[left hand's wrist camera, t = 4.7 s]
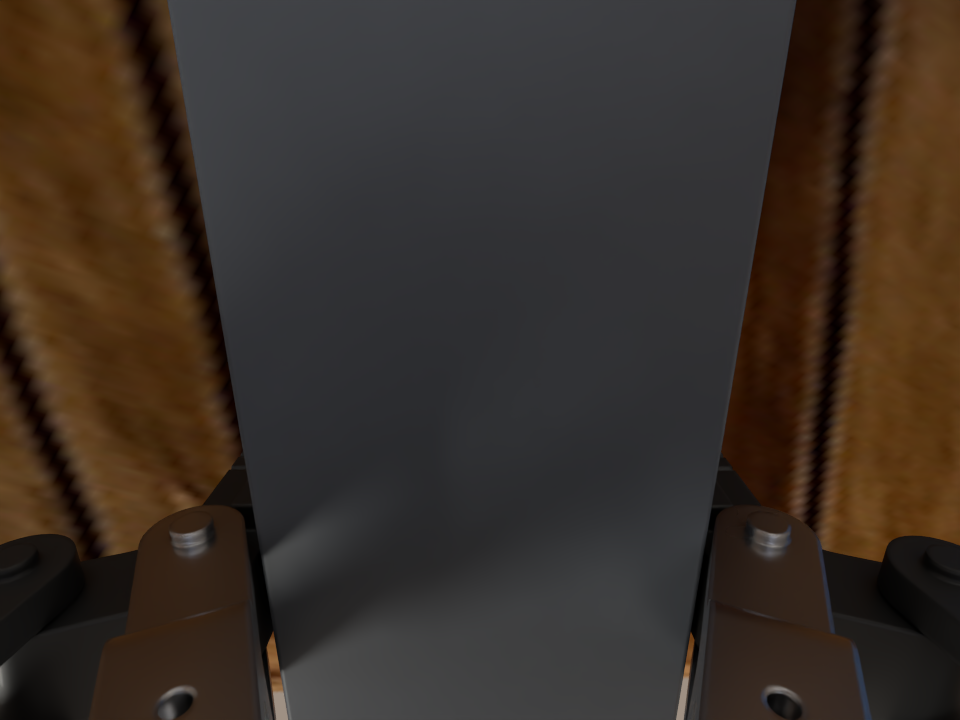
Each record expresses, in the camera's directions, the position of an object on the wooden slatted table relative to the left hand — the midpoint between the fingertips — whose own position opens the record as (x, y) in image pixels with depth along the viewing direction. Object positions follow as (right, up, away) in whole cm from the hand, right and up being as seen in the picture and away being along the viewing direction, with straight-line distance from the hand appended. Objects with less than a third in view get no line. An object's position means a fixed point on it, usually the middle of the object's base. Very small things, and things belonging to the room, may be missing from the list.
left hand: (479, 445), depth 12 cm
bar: (0, +11, +1) cm, 11 cm away
